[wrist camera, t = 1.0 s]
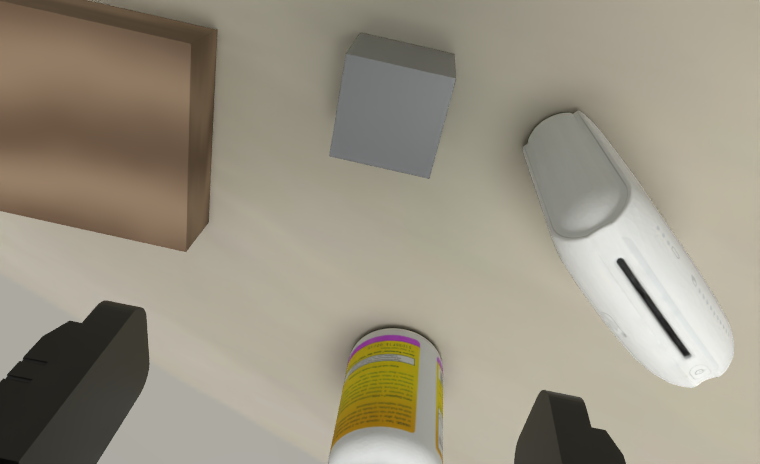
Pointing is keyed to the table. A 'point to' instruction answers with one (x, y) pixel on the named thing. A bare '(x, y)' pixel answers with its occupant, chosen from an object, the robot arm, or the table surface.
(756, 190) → the table surface
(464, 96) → the table surface
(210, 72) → the walnut block
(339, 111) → the charcoal cube
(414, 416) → the supplement bottle
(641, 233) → the photo printer
